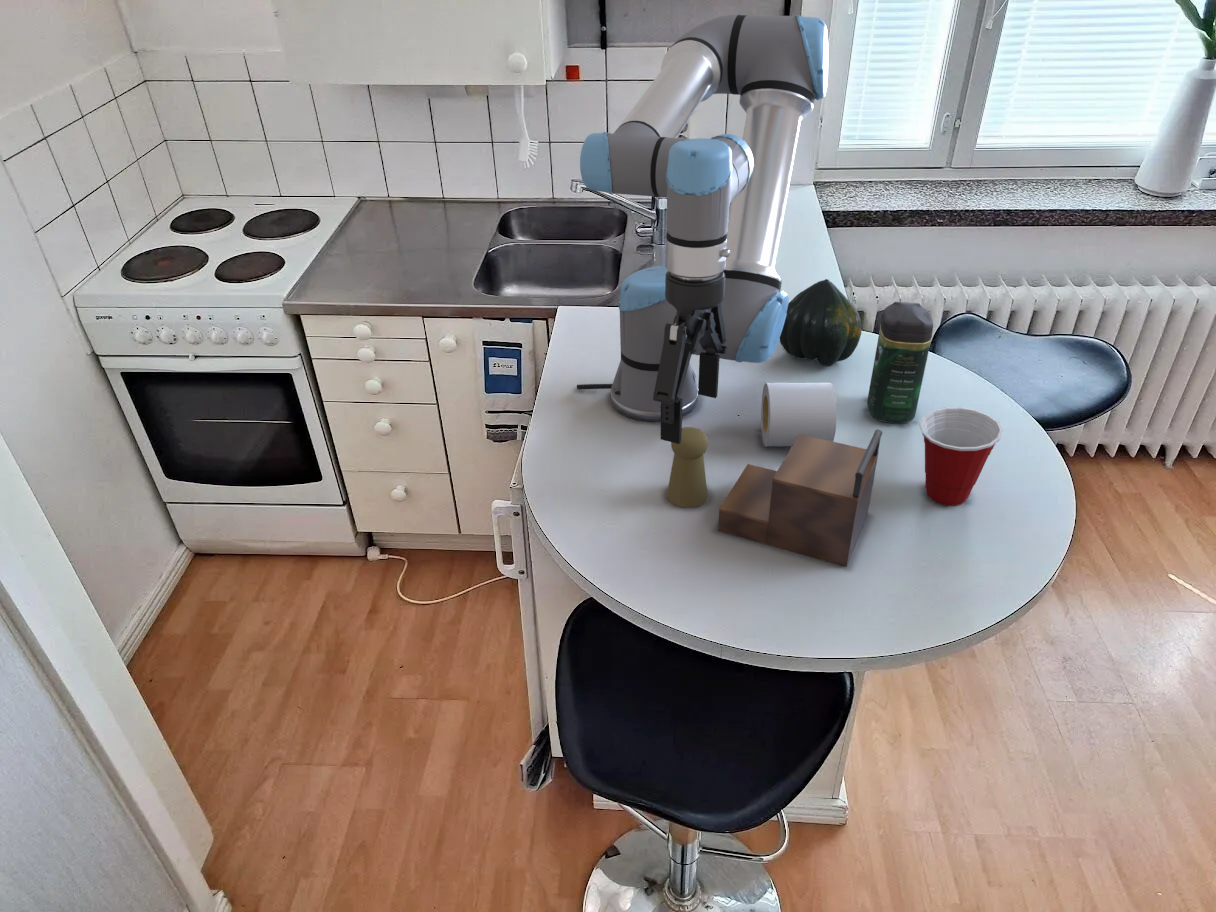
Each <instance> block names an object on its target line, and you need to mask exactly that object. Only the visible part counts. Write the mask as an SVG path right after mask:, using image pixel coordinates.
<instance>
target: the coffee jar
mask: <svg viewBox="0 0 1216 912" xmlns="http://www.w3.org/2000/svg"><path fill="white" fill-rule="evenodd" d="M933 320H934V319H933V317H932V315H931V313H930V312H929V310H927V309H926V308H925V307H923V306H922V305H921V304H920V303H917V302H909V301H894V302H893V303H891V304H888V306H886V307H885V308H884V309H883V311H882V313H881V318H880V324H879V331H878V338H877V343H876V349H875V355H874V360H873V366H872V372H871V377H870V383H869V389H868V394H867V402H866V403H867V404H866V405H867V410H868V413H869V415H870V416H871V417H872V418H873V419H875V420H878V421H881V422H884V423H887V424H903V423H909V422H912V421H913V420H914V419H915V417H916V413H917V409H918V404H919V399H920V394H921V388H922V385H923V380H924V376H925V370H926V365H927V361H928V357H929V351H930V346H931V343H932V337H933V330H934V321H933Z"/></svg>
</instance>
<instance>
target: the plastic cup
mask: <svg viewBox="0 0 1216 912" xmlns="http://www.w3.org/2000/svg"><path fill="white" fill-rule="evenodd" d="M918 426H919V429H920V431H921V434H922V436H923V443H924V473H925V483H924V484H925V485H924V488H925V492H926V496H927V497H928V498H929V499H930V500H931V501H933V502H934V503H937V504H938V505H943V506H951V507H954V506H959V505H960V506H961V505H962V504H964V503H965V502H967V500H968V499H969V497H970V495H971V493H972V491H973V488H974V487H975V485H976V483H977V481H978V479H979V477H980V475H981V473H982V471H983V468H984V466H985V464H986V463H987V460H988V458H989V456H990V455H991V453H992V450H993V449H994V447H995V446H996V444H997V443H998V442H1000V440H1001V438H1002V435H1003V431H1004V430H1003V428H1002V425H1001V423H1000V422H999V421H998V420H997V419H996V418H994V417H993V416H992V415H990V414H988V413H985V412H983V411H980V410H977V409H972V408H968V407H961V406H959V407H957V406H955V407H942V408H938V409H933V410H931V411H929V412H928V413H926V414H925V415H923V416H922V417H921V419H920V421H919V425H918Z"/></svg>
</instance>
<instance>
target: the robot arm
mask: <svg viewBox="0 0 1216 912" xmlns="http://www.w3.org/2000/svg"><path fill="white" fill-rule="evenodd" d="M828 34H829V33H828V28H827V25H826V22H825V21H824V19H821V18H819V17H813V16H801V15H800V14H796V15H756V14H755V15H754V14H753V15H751V14H750V15H749V14H727V15H721V16H718V17H714V18H711V19H709V20H706V21H704V22H703V23H701V24H698V25H697V26H696V25H695V27H693V28H692V29H690V30H689V31H687V32H686V33H684V34H683V35H681V36H680V37H679V38H678V39H677V40H676V41H675V42H674V43H673V44H672V45H671V46H670V47H669V49H668V50H667V51H666V53H665V54H664V56H663V58H662V61H661V66H660V71H659V73H658V74H657V75H656V77H655V78H654V79H653V81H652V82H651V83H650V85H649V86H648V87H647V89H646V90H645V91H644V93H643V94H642V96H640V98H639V99H638V101H637V102H636V103H635V105H634V106H633V108H632V109H631V110H630V111H629V113H628V114H627V115H626V117H625V118H624V119H623V121H622V122H621V123H620V124H619V126H618V127H617V128H616V129H615V131H614V132H613V133H610V132H607V131H603V132H593V133H590V134H588V135H587V136H586V137H585V139H584V141H583V144H582V146H581V150H580V154H579V155H580V156H579V172H580V177H581V180H582V183H583V185H584V186H585V187H586V188H587V189H588V190H590V191H594V192H595V191H596V192H602V193H608V194H609V195H613V194H615V195H616V194H617V195H628V196H640V197H655V198H663V199H664V198H665V199H666V236H665V255H664V256H665V262H664V265H657V266H650V267H647V268H643V269H640V270H637V271H635V272H633V273H631V274H630V275H628V276H627V277H625V279H624V280H623V281H622V283H621V284H620V285H621V286H620V291H619V292H620V293H619V303H618V310H619V332H620V334H619V337H620V338H619V339H620V341H619V342H620V345H619V346H620V361H619V364H618V367H617V370H616V373H615V375H614V378H613V381H612V383H587V384H586V383H583V384H581V383H580V384H576V390H610V403H611V405H612V406H613V408H614V409H615V410H616V411H617V412H618V413H620V414H621V415H624V416H626V417H628V418H631V419H635V420H638V421H644V422H645V421H646V422H660V437H659V438H660V439H659V440H661V441H666V442H669V443H671V442H673V443H677V444H680V442H681V436H682V428H683V417H684V416H686V415H688V414H690V413H691V412H692V411H694V410H695V409H696V408H697V406H698V404H699V396H703V397H708V398H713V399H716V398H717V397H718V393H719V374H720V373H719V372H720V359H721V360H728V361H734V362H737V363H742V362H743V363H753V364H762V363H764V362H766V361H768V360H769V359H770V358H771V356H772V355H773V354H774V352H775V350H776V348H777V345H778V344H779V342H780V335H781V332H782V329H783V326H784V322H785V319H786V312H787V308H788V303H789V302H790V300H789V298H790V297H789V295H788V293H787V292H785V291H784V290H781V289H782V284H783V280H782V279H781V277H780V275H778V273H777V272H776V262H777V258H778V251H779V246H780V239H781V234H782V229H783V223H784V217H785V211H786V206H787V200H788V195H789V189H790V183H791V178H792V172H793V166H794V162H795V155H796V150H797V145H798V138H799V133H800V127H801V121H802V120H803V119H805V118H807V117H808V116H810V114H812V112H813V109H814V105H815V100H816V101H820V100H822V99H825V98H826V95H827V89H828V78H829V38H828V37H829V35H828ZM724 94H725V95H737V96H738V95H739V106H740V107H741V108H742V110H743V111H744V112H745V114H746V117H745V122H744V128H743V133H742V138H741V137H740V136H737V135H735V134H731V133H722V134H719V135H715V136H711V138H706V137H705V138H703V137H701V138H700V137H699V138H684V137H683V138H681V137H679V136H680V134H681V133H682V131H683V129H684V128H685V127H686V126H687V124H688V122H689V120H690V119H691V118H692V115H693V114H694V113H695V111H696V110H697V108H698V107H699V105H700V104H701V103H703V102H705V101H706V100H708V99H709V98H711V97H712V96H713V95H724ZM692 356H699V359H698V360H699V361H698V363H699V364H698V365H699V366H698V383H697V377H696V376H697V375H696V374H695V372H694V369H693V367H692V365H691V358H692Z"/></svg>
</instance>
